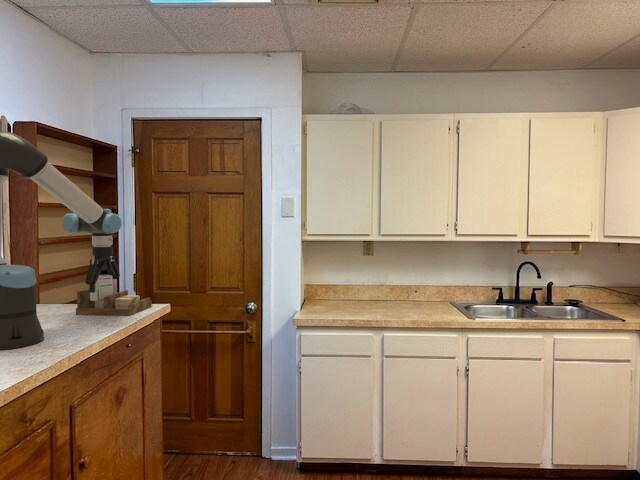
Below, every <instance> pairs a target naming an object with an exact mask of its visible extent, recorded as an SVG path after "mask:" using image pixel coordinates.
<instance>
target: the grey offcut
mask: <svg viewBox="0 0 640 480" xmlns="http://www.w3.org/2000/svg"><path fill="white" fill-rule="evenodd" d="M115 307H116V309H128V307H122V306H115Z"/></svg>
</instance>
